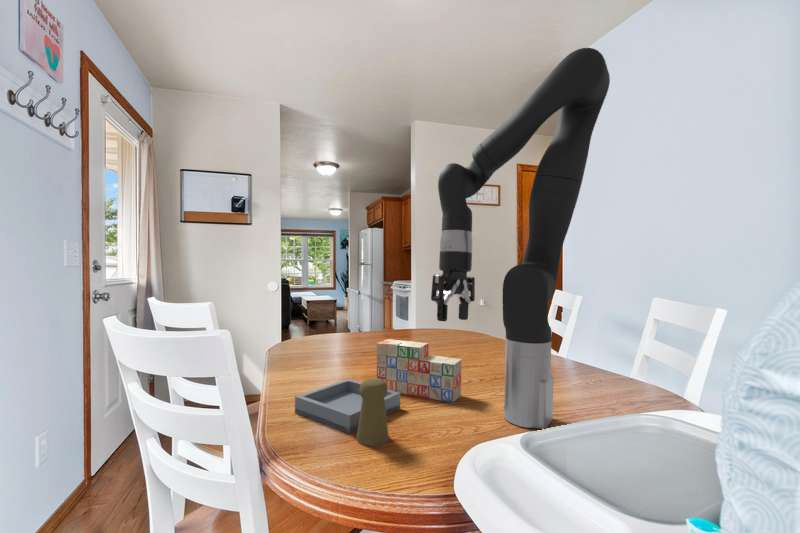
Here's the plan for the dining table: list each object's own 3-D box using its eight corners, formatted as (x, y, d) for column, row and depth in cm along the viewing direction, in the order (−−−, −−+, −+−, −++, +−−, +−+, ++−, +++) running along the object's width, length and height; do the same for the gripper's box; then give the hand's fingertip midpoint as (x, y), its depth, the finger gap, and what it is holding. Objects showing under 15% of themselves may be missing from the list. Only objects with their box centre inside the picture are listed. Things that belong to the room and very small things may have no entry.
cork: (384, 448, 68) (385, 386, 68) (352, 444, 69) (353, 383, 69) (391, 433, 74) (392, 376, 74) (362, 430, 75) (362, 374, 75)
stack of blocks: (461, 396, 96) (462, 347, 96) (453, 404, 91) (454, 352, 90) (387, 382, 106) (387, 337, 106) (375, 388, 100) (376, 341, 100)
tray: (400, 408, 87) (400, 392, 87) (349, 433, 74) (349, 415, 74) (347, 392, 97) (347, 378, 97) (294, 412, 83) (295, 396, 83)
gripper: (451, 247, 82) (448, 323, 81) (485, 253, 93) (483, 320, 92) (424, 248, 87) (421, 320, 87) (459, 253, 98) (456, 317, 97)
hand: (453, 320), depth 89 cm, fingers open, 8 cm apart
